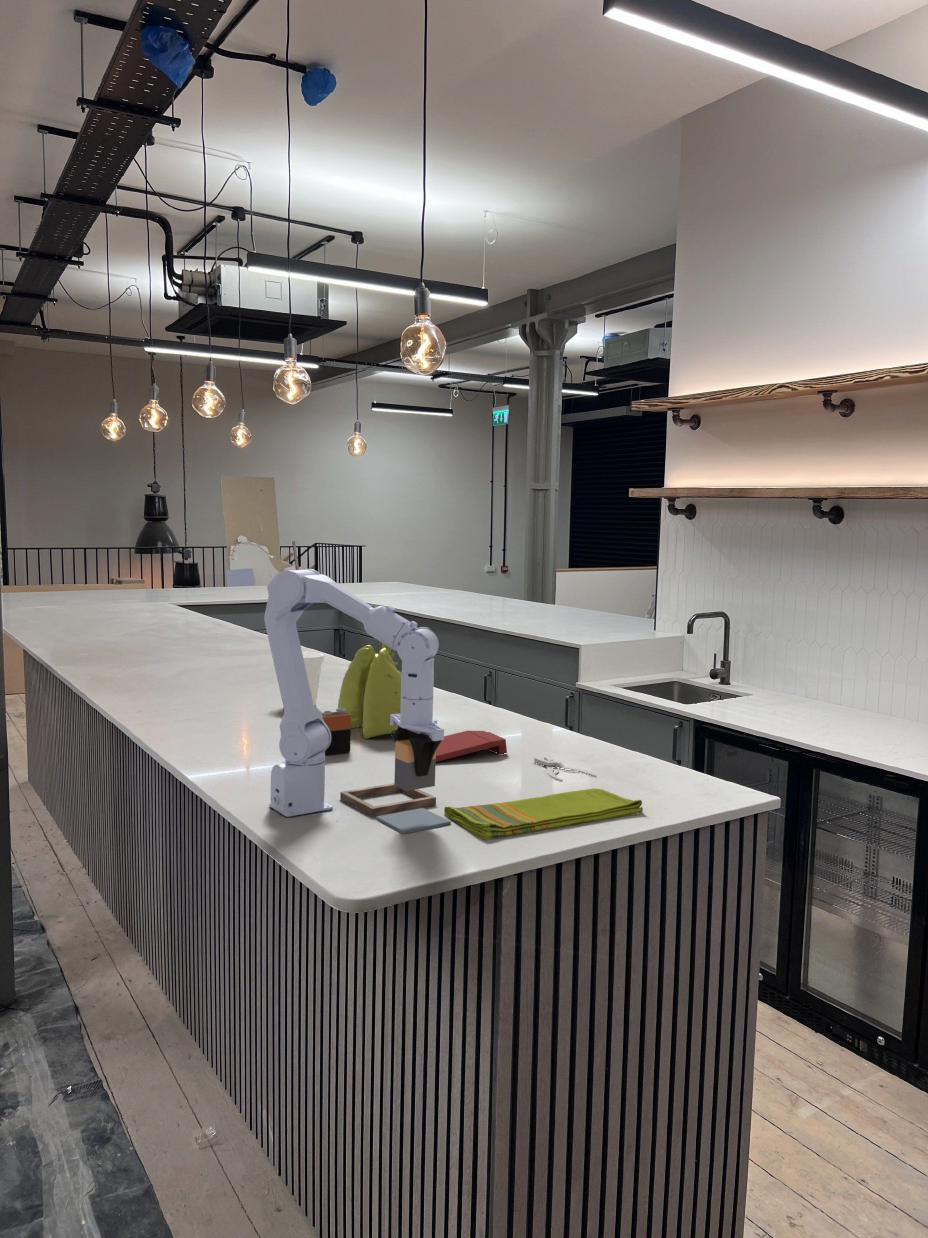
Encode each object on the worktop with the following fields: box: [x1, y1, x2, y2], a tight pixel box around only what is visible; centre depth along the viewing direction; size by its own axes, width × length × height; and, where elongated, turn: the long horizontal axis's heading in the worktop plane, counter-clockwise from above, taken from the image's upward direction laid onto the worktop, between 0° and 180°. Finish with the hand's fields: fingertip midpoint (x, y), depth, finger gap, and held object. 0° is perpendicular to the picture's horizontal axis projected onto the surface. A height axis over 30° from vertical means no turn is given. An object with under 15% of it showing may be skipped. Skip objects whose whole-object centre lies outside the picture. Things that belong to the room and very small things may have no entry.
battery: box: [321, 708, 352, 757], centre depth 205 cm, size 4×7×10 cm, turn 126°
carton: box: [436, 730, 508, 763], centre depth 208 cm, size 12×5×25 cm
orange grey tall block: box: [393, 740, 437, 791], centre depth 158 cm, size 6×4×8 cm, turn 126°
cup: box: [302, 651, 325, 707], centre depth 257 cm, size 12×12×15 cm
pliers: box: [533, 756, 597, 782], centre depth 197 cm, size 10×2×15 cm
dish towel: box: [444, 788, 644, 841], centre depth 166 cm, size 15×36×3 cm, turn 120°
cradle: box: [339, 782, 437, 818], centre depth 169 cm, size 14×12×2 cm
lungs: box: [337, 642, 402, 739], centre depth 230 cm, size 25×16×24 cm, turn 33°
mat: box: [375, 807, 452, 835], centre depth 159 cm, size 10×9×1 cm
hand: (414, 772), depth 158 cm, fingers closed on orange grey tall block, 4 cm apart
